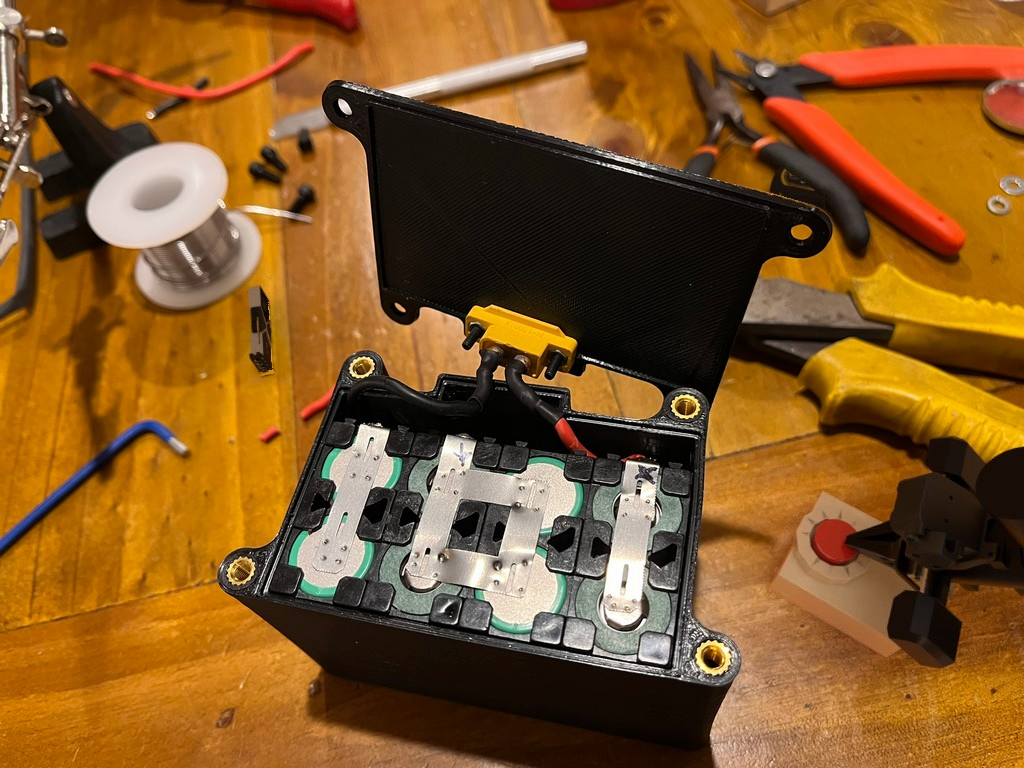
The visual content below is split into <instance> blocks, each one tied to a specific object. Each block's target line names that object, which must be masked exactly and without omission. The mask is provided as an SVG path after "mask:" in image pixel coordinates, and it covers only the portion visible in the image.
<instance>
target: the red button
mask: <svg viewBox="0 0 1024 768" xmlns="http://www.w3.org/2000/svg"><path fill="white" fill-rule="evenodd" d="M856 532H857V531H856V530H855V529H854V528H853V527H852V526H851V525H850V524H849V523H847V522H845V521H842V520H839V519H829V520H826V521H824V522H822V523H821V524H820V525H819V526H818V527H817V529H816V530H815V531H814V533H813V535H812V538H811V546H812V549H813V551H814V552H815V554H816V555H817V557H818V558H819V559H820V560H822V561H824V562H825V563H827V564H829V565H834V566H840V565H844V564H846V563H848V562H849V561H851V560H852V559H853V557H854V556H855V555H856V554H857V553H858V552H856V551H854V550H852V549H850V548H849V547H847V546H846V545H845V540H846V536H847V535H850V534H853V533H856Z"/></svg>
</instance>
